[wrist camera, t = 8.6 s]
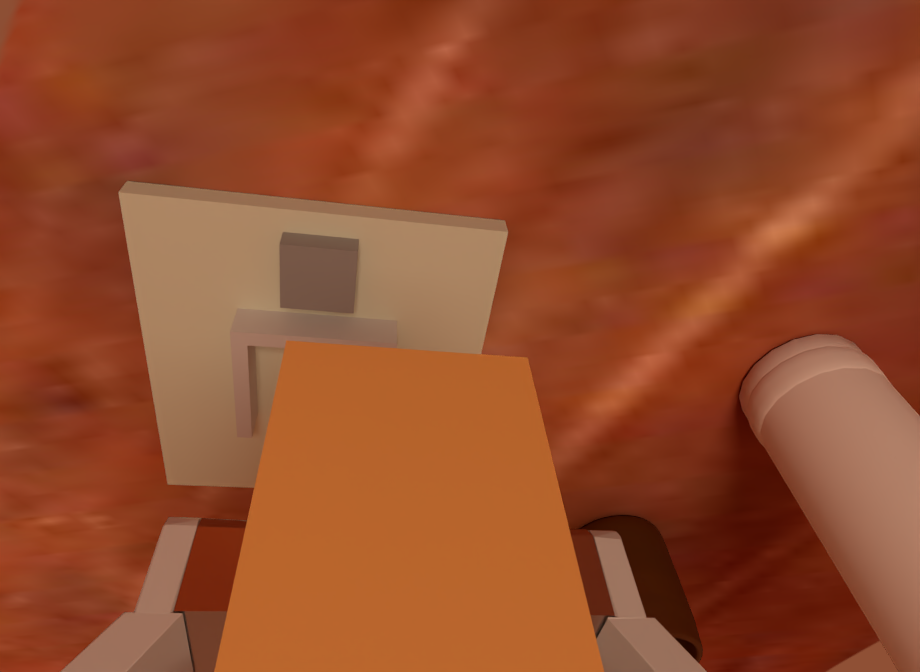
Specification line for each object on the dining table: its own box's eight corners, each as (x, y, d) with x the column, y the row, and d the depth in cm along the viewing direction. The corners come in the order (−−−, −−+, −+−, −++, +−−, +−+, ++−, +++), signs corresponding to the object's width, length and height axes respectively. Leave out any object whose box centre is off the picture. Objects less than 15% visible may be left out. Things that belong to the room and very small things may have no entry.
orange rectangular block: (286, 340, 12) (160, 920, 6) (527, 357, 13) (658, 891, 6) (287, 499, 15) (203, 1012, 8) (486, 506, 15) (548, 985, 9)
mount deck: (127, 180, 31) (102, 212, 28) (504, 220, 33) (513, 252, 31) (172, 469, 42) (158, 510, 40) (448, 481, 45) (451, 519, 43)
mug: (506, 522, 48) (526, 647, 41) (588, 470, 46) (625, 595, 38) (601, 581, 54) (633, 700, 47) (679, 538, 51) (726, 658, 44)
